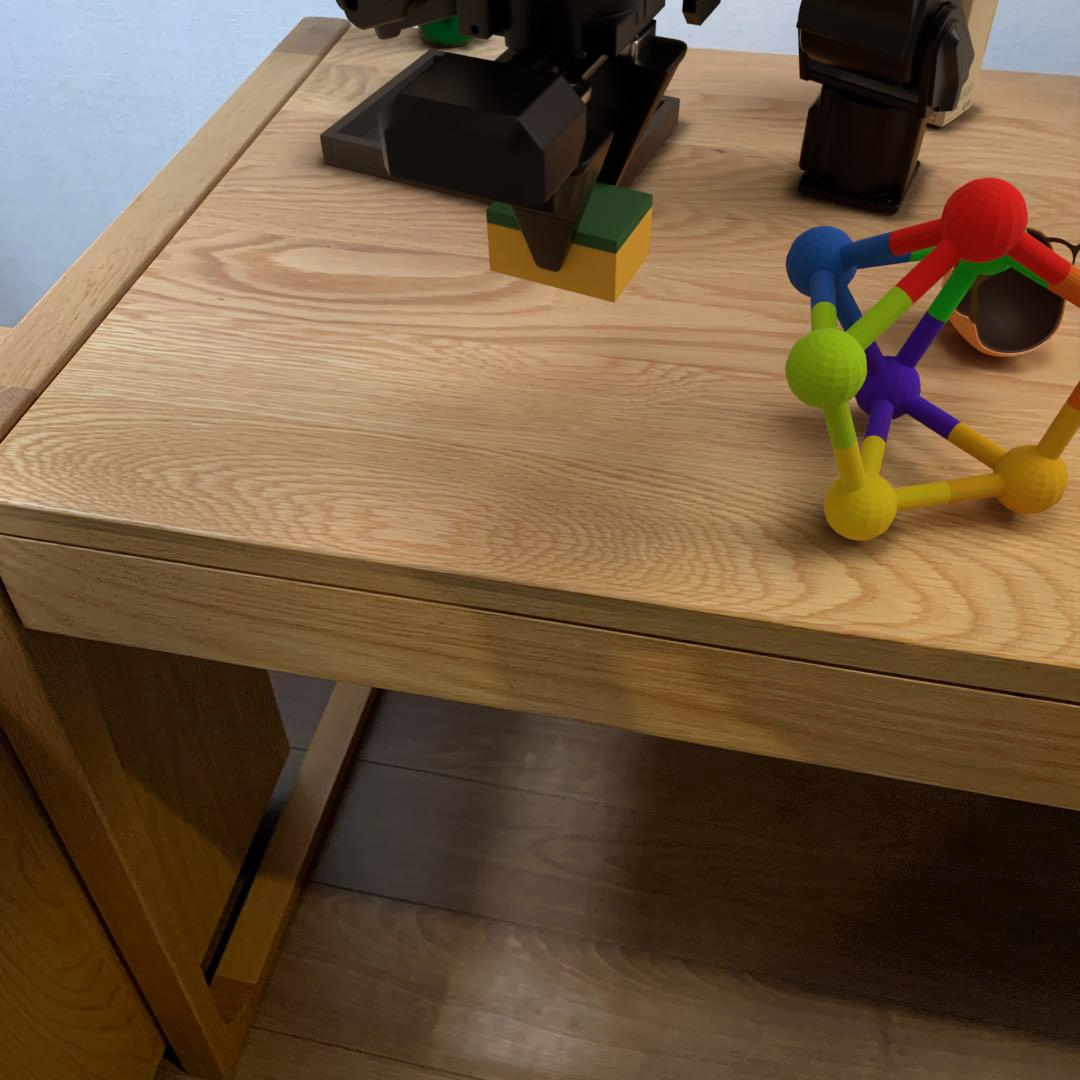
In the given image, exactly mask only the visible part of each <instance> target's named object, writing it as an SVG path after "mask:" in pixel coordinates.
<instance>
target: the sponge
mask: <svg viewBox="0 0 1080 1080" xmlns="http://www.w3.org/2000/svg"><path fill="white" fill-rule="evenodd" d="M653 198H654V194H653V193H649V192H644V191H640V190H635V189H631V188H628V187H627V188H623V187H618V186H614V185H609V184H605V183H600V182H596V183H595V185H594V188H593V191H592V193H591V196H590V199H589V201H588V204H587V207H586V209H585V212H584V214H583V217H582V220H581V222H580V225H579V228H578V230H577V233H576V236H575V238H574V241H573V243H572V246H571V248H570V250H569V253H568V255H567V258H566V260H565V262H564V265H563V267H562V268H561V269H560V271H558V272H553V271H549V270H545V269H541V268H539V267H538V266H536V264H535V262H534V260H533V257H532V255H531V253H530V250H529V248H528V246H527V243H526V241H525V239H524V236H523V234H522V232H521V229H520V227H519V225H518V222H517V220H516V218H515V215H514V213H513V211H512V208H511V206H510V205H509V204H505V203H500V202H496V201H494V202H493V203H492V204H489V206H488V207H487V208H486V209H485V217H486V230H487V231H486V233H487V245H488V246H487V247H488V248H487V249H488V261H489V271H491V272H494V273H497V274H502V275H506V276H509V277H514V278H517V279H522V280H524V281H529V282H533V283H537V284H539V285H545V286H548V287H552V288H555V289H560V290H564V291H567V292H571V293H575V294H579V295H583V296H586V297H590V298H593V299H598V300H601V301H606V302H610V303H616V301H617V300H618V299H619V298H620V296H621V294H622V293H623V292H624V290H625V289H626V288H627V286H628V285H629V283H630V282H631V281H632V279H633V278H634V277H635V276H636V274H637V272H638V271H639V270H640V268H641V267H642V265H643V264H644V262H645V261H646V260H647V259H648V257H649V256H650V247H651V246H650V245H651V231H652V216H653V214H652V213H653V201H654V200H653Z"/></svg>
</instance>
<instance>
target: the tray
mask: <svg viewBox="0 0 1080 1080" xmlns="http://www.w3.org/2000/svg"><path fill="white" fill-rule="evenodd" d="M446 52H447V51H445V50H440V49H435V48H429V49H428V50H427V51H426V52H424V53H423V54H421V55H420V56H419V57H418V58H416V59H415V60H414V61H412V62H411V63H410V64H409V65H408V66H406V67H405V68H404V69H402V70H401V71H400V72H398V73H397V74H396V75H395V76H393V77H392V78H391V79H390V80H389V81H387V82H386V83H384V84H383V85H382V86H380V87H379V88H378V89H377V90H375V91H374V92H372V94H371V95H369V96H368V97H367V98H365V99H364V100H363V101H361V102H360V103H358V105H356V106H355V107H353V109H351V110H350V111H348V112H347V113H345V115H343V116H342V117H340V118H339V119H338V120H337V121H336V122H334V123H333V124H332V125H331V126H329V127H328V128H327V129H325V130H324V131H323V132H321V133H320V134H319V140H320V146H321V151H322V157H323V162H324V164H326V165H329V166H335V167H339V168H342V169H347V170H351V171H354V172H358V173H363V174H367V175H370V176H371V175H372V176H375V177H378V178H379V177H380V178H383V179H388V180H392V181H396V182H399V183H403V184H408V185H412V186H416V187H420V188H424V189H428V190H432V191H437V192H440V193H444V194H448V195H453V196H456V197H461V198H465V199H468V200H472V201H477V202H481V203H485V204H489V205H491V204H492V203H493V202H494V201H492V200H488V199H483V198H479V197H475V196H471V195H467V194H462V193H458V192H454V191H450V190H445V189H441V188H437V187H433V186H428V185H424V184H420V183H416V182H412V181H407V180H403V179H399V178H395V177H390V175H389V173H388V171H387V169H386V168H385V165H384V158H383V151H382V144H381V137H380V130H379V123H378V114H379V113H380V111H381V110H382V109H383V108H384V107H385V106H386V105H387V104H388V103H389V102H390V101H391V100H392V98H393V97H394V96H395V95H396V94H397V93H398V92H399V91H401V90H402V89H403V88H404V87H405V86H407V85H408V84H409V83H410V82H411V81H413V80H414V79H415V78H416V77H417V76H419V75H420V74H421V73H422V72H423V71H424V70H426V69H427V68H428V67H429V66H430V65H432V64H433V63H434V62H435V61H436V60H438V59H439V58H440V57H441V56H442V55H444V54H445V53H446ZM680 105H681V98H680V97H675V96H669V95H666V94H664V95H663V97H662V99H661V101H660V103H659V105H658V107H657V109H656V111H655V113H654V115H653V117H652V119H651V120H650V122H649V124H648V126H647V128H646V130H645V132H644V134H643V136H642V138H641V140H640V142H639V144H638V145H637V148H636V150H635V152H634V154H633V156H632V158H631V160H630V162H629V164H628V166H627V168H626V170H625V173H624V175H623V177H622V179H621V181H620V183H619V185H618V187H623V188H627V189H628V187H629V186H630V185H631V183H632V182H633V181H634V179H635V178H637V176H638V175H639V173H640V172H641V171H642V170H643V169H644V168H645V166H646V165H647V164H648V163H649V162H650V161H651V159H652V158H653V156H655V154H656V153H657V152H658V151H659V150H660V148H661V147H662V146H663V144H664V143H665V142H666V141H667V140H668V139H669V137H670V136H671V135H672V134H673V133H674V131H676V129H677V128H678V127H679V118H680V117H679V116H680Z"/></svg>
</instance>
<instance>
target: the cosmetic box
mask: <svg viewBox="0 0 1080 1080" xmlns="http://www.w3.org/2000/svg"><path fill="white" fill-rule="evenodd" d="M998 5H999V0H961V7H962V8H963V10H964V13H965V17H966V21H967V25H968V29H969V33H970V37H971V41H972V45H973V49H974V53H975V55H974V59H973V62H972V65H971V67H970V70H969V77H968V79H967V81H966V83H965V84H964V85H963V87H962V90H961V94H960V97H959V101H958V104H957V108H955V109H954V110H953V111H946V112H935V113H933V114H932V115H931V116H930V117H929V118H928V121H927V124H930V125H932V126H933V125H934V126H936V127H940V128H943V127H945V126H946V125H948V124H950V123H951V122H952V121H954V120H955V119H957V118H958V117H960V116H961V115H962V114H964V113H965V112H966V111H968V109H970V108H971V107H972V104H973V101H974V96H975V92H976V89H977V86H978V80H979V78H980V73H981V70H982V67H983V62H984V58H985V54H986V50H987V46H988V43H989V39H990V35H991V31H992V28H993V24H994V20H995V16H996V12H997V8H998Z"/></svg>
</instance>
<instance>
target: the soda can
mask: <svg viewBox="0 0 1080 1080" xmlns="http://www.w3.org/2000/svg"><path fill="white" fill-rule="evenodd" d="M417 31H418V33H419V35H420V36H421V37H422V38H423V39H424V40H425V41H426V42H427V43H429V44H430V45H433V46H434V45H435V46H438V47H445V48H446V47H447V48H451V47H459V46H460V47H461V46H464V45H467V44H470V43H471V42H473V41H475V40H476V39H477V38H474V37H468V36H463V35H459V31H458V18H457V15H455V16H452V17H449V18H446V19H442V20H438V21H434V22H430V23H427V24H423V25H419V26H417Z"/></svg>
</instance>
